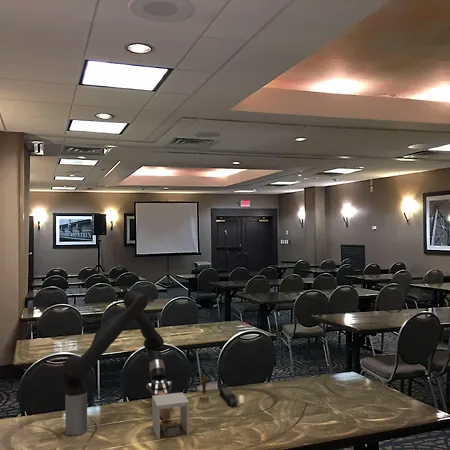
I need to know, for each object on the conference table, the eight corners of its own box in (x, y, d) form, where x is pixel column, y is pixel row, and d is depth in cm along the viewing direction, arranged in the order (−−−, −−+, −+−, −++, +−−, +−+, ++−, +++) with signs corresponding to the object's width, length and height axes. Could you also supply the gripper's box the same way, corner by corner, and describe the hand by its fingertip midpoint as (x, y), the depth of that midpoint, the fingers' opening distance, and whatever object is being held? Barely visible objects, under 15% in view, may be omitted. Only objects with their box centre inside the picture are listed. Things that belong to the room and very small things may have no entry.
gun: (224, 393, 262) (226, 377, 260) (236, 417, 245) (238, 401, 242) (216, 394, 261) (218, 378, 258) (228, 418, 243) (230, 402, 240)
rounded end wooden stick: (170, 419, 222) (170, 401, 222) (163, 420, 220) (162, 402, 221) (163, 406, 239) (163, 390, 239) (156, 407, 238) (156, 391, 238)
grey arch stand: (157, 438, 204) (157, 405, 205) (152, 426, 217) (152, 395, 218) (189, 434, 208) (189, 401, 209) (182, 422, 222) (182, 392, 222)
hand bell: (209, 402, 249) (209, 371, 249) (214, 408, 241) (213, 376, 241) (194, 404, 246) (193, 373, 246) (198, 410, 238) (197, 377, 239)
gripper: (144, 368, 241) (148, 400, 229) (172, 365, 245) (177, 396, 233) (143, 375, 246) (146, 407, 234) (170, 373, 250) (175, 404, 238)
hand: (161, 402), depth 233 cm, fingers closed on rounded end wooden stick, 3 cm apart
